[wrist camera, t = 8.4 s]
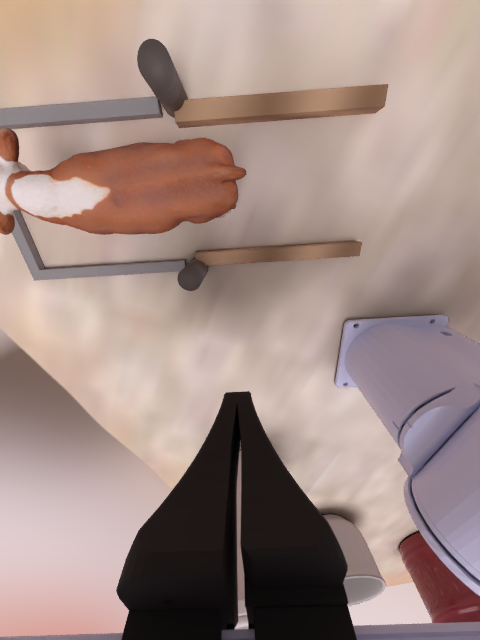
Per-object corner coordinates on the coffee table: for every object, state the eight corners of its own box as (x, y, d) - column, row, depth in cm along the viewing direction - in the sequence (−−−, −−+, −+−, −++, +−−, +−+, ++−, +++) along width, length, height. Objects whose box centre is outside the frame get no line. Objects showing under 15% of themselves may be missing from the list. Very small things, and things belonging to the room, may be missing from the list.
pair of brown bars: (382, 68, 14) (434, 15, 10) (351, 267, 19) (378, 279, 15) (160, 86, 14) (133, 40, 10) (191, 277, 19) (179, 291, 15)
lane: (160, 101, 14) (156, 96, 14) (187, 269, 19) (185, 270, 18) (-34, 116, 14) (-45, 112, 14) (40, 278, 19) (34, 280, 18)
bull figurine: (53, 164, 16) (-112, 118, 8) (243, 161, 16) (248, 112, 8) (74, 231, 17) (-46, 241, 10) (244, 228, 17) (248, 236, 10)
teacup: (309, 501, 34) (329, 577, 27) (371, 511, 36) (405, 586, 29) (279, 542, 40) (288, 614, 33) (333, 549, 42) (353, 619, 34)
